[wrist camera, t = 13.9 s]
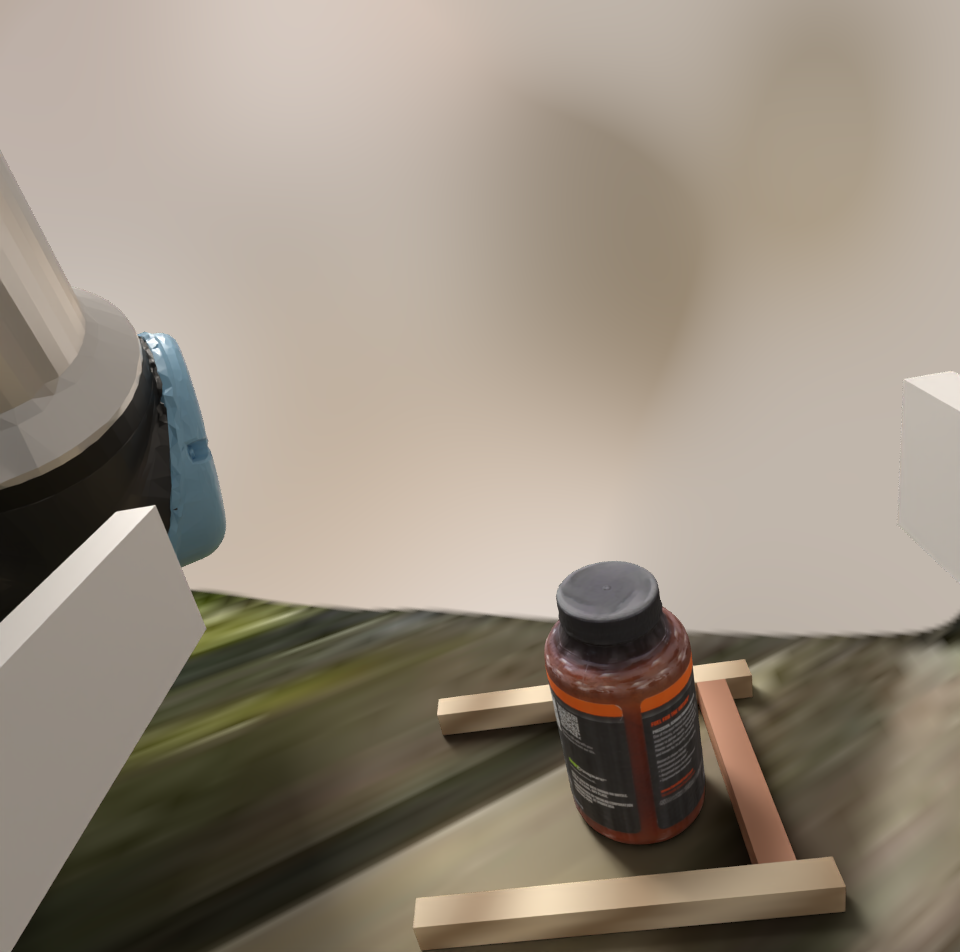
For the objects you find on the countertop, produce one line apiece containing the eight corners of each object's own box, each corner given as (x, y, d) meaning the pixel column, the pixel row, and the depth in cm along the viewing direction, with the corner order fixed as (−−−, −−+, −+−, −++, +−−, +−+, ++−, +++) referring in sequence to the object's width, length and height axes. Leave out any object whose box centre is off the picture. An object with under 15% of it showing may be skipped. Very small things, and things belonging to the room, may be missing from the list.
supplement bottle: (716, 756, 34) (700, 550, 30) (693, 868, 30) (669, 646, 25) (593, 733, 37) (560, 541, 32) (554, 832, 32) (509, 626, 28)
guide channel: (421, 950, 29) (412, 927, 28) (444, 718, 40) (439, 699, 39) (845, 911, 27) (845, 886, 26) (745, 680, 38) (744, 659, 38)
